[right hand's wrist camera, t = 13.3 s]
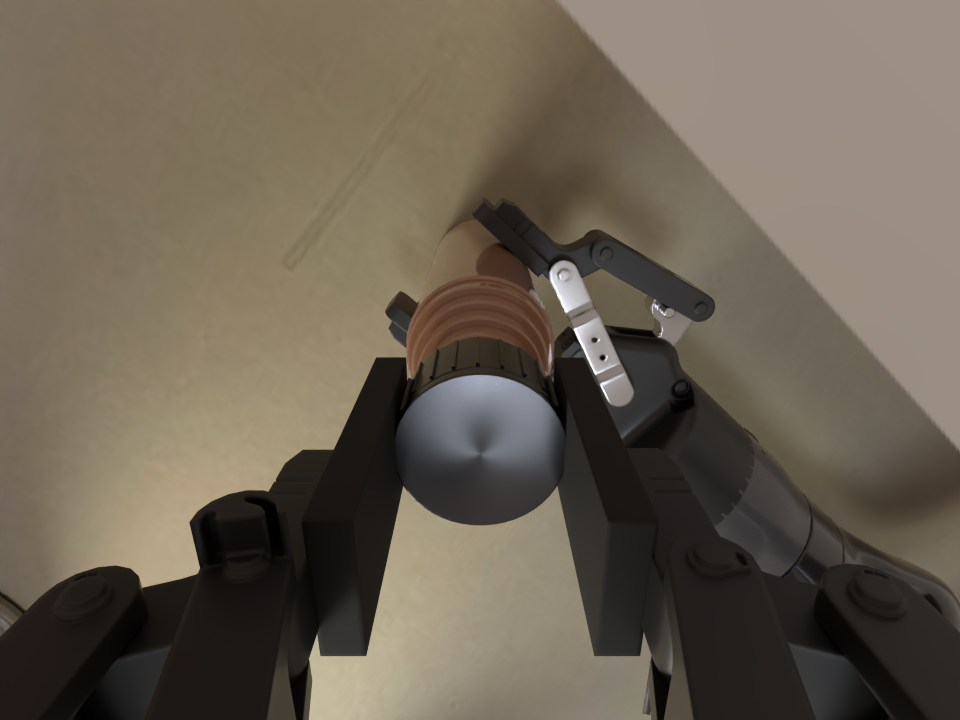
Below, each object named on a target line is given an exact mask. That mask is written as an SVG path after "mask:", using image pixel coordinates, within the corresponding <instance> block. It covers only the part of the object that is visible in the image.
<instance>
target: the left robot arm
mask: <svg viewBox="0 0 960 720" xmlns="http://www.w3.org/2000/svg"><path fill="white" fill-rule="evenodd" d="M472 214H473V216H474V217H475V218H476V219H477V220H478V221H479V222H480V223H481V224H482V225H483V226H484V227H485V228H486V229H487V230H488V231H489V232H490V233H492V234H493V235H494V236H495V237H496V238H497V239H498V240H499V241H500V242H501V243H502V244H503V245H504V246H505V247H507V248H508V249H509V250H510V251H511V252H512V253H513V254H514V255H515V256H516V257H517V258H519V259H520V260H521V261H522V262H523V263H524V264H525V265H526V266H527V267H528V268H529V269H530V270H531V271H532V272H533V273H534V274H535V275H537V276H538V277H539V276H540V275H541V274H543V275H544V276H545V277H546V278H548V279H549V280H550V282H551V284H552V286H553V288H554V290H555V292H556V294H557V296H558V298H559V300H560V303H561V305H562V307H563V309H564V311H565V313H566V315H567V317H568V319H569V321H570V323H571V325H572V329H571V328H570V327H569V326H568V327H567V328H566V329H565V330H564V331H563V332H562V333H561V334H560V335H559V336H558V337H557V338H556V340H555V342H554V355H553V365H552V370H551V373H550V376H551V378H552V382H553V379H554V360H555V357H577V358H585V360H586V362H587V365H588V367H589V369H590V371H591V373H592V375H593V378H594V380H595V382H596V384H597V386H598V389H599V391H600V393H601V395H602V397H603V399H604V402H605V404H606V406H607V408H608V410H609V412H610V415H611V417H612V419H613V421H614V423H615V425H616V428H617V430H618V432H619V434H620V436H621V438H622V441H623V443H624V445H625V447H626V448H658V449H660V450H661V451H662V452H664V453H665V454H666V455H668V456H669V457H670V458H672V459H673V460H674V461H676V463H677V465H678V466H679V468H680V470H681V471H682V473H683V475H684V476H685V480H687V482H688V483H689V485H690V487H691V488H692V492H693V493H695V495H696V497H697V498H698V500H699V502H700V503H701V505H702V507H703V509H704V510H705V512H706V514H707V515H708V517H709V519H710V520H711V522H712V524H713V525H714V527H715V529H716V530H717V532H718V534H719V536H720V537H723V538H725V539H728V540H730V541H732V542H734V543H736V544H738V545H740V546H741V547H742V548H743V549H745V550H746V551H747V552H748V553H750V554H751V555H752V556H753V558H754V559H755V561H756V562H757V564H758V565H759V567H760V569H761V571H763V572H765V573H769V574H772V575H775V576H779V577H782V578H787V579H791V580H796V581H800V582H805V583H809V584H813V585H818V586H819V585H820V582H821V578H822V575H823V573H824V572H825V571H826V570H828V569H829V568H830V567H831V566H835V565H840V564H845V563H846V564H857V565H865V566H868V567H871V568H875V569H878V570H881V571H884V572H886V573H888V574H890V575H892V576H894V577H896V578H898V579H900V580H902V581H904V582H906V583H907V584H908V585H910V586H911V587H912V588H913V589H915V590H916V591H917V592H919V593H920V594H921V595H922V596H923V597H924V598H925V599H926V600H927V601H928V602H929V603H930V604H932V605H933V606H934V607H935V608H936V609H937V610H938V611H939V612H940V613H941V614H942V615H943V616H944V617H945V618H946V619H947V620H948V621H949V622H950V623H951V624H952V625H953V626H954V627H955V628H956V629H957V630H958V631H959V632H960V603H959V601H958V599H957V598H956V596H955V594H954V593H953V591H952V590H951V589H950V588H949V587H948V586H947V584H946V583H944V582H943V581H942V580H941V579H940V578H938V577H937V576H935V575H934V574H932V573H930V572H928V571H927V570H925V569H923V568H921V567H919V566H917V565H915V564H913V563H910V562H908V561H905V560H903V559H901V558H898V557H896V556H893V555H891V554H888V553H886V552H884V551H881V550H879V549H877V548H875V547H873V546H872V545H870V544H868V543H866V542H864V541H863V540H861V539H859V538H857V537H856V536H854V535H852V534H850V533H849V532H847V531H846V530H844V529H842V528H841V527H839V526H838V525H836V524H835V523H834V522H833V521H832V520H831V519H830V518H829V517H828V516H827V515H826V514H825V513H824V512H823V511H822V510H821V509H820V508H819V507H817V506H816V505H815V504H814V503H813V502H812V501H811V500H810V499H809V498H808V497H807V496H806V495H805V494H804V493H803V492H802V491H801V490H800V489H799V488H798V487H797V486H796V485H795V484H794V482H793V481H792V480H791V478H790V477H789V476H788V474H787V473H786V471H785V470H784V469H783V468H782V466H781V465H780V464H779V463H778V462H777V460H776V459H775V458H774V457H773V456H772V455H771V454H770V453H769V452H768V451H767V450H766V449H765V448H763V447H762V446H761V445H760V444H759V441H758V440H757V439H756V437H755V436H754V435H753V434H752V433H750V432H749V431H748V430H746V429H745V428H743V427H742V426H740V425H739V424H738V423H737V422H736V421H735V420H734V419H733V418H732V417H731V416H730V415H729V414H728V413H727V412H726V411H725V410H724V409H723V408H722V407H721V406H720V405H719V404H718V403H717V402H716V401H715V400H713V399H712V398H711V397H710V396H709V395H708V394H707V393H706V392H705V391H704V390H703V389H702V388H701V387H700V386H699V385H698V384H697V383H696V382H695V381H694V380H693V379H692V378H691V377H690V376H689V375H687V374H686V373H685V372H684V371H683V370H682V368H681V366H680V363H679V359H678V354H677V351H676V349H675V348H674V347H675V345H676V344H677V343H678V341H679V340H680V338H681V337H682V336H683V334H684V333H685V332H686V330H687V329H688V327H689V326H690V325H691V323H692V322H693V321H696V322H701V321H705V320H707V319H708V318H709V317H710V316H711V315H712V314H713V312H714V310H715V303H714V300H713V299H712V298H711V297H710V296H708V295H707V294H706V293H704V292H703V291H701V290H700V289H699V288H697V287H696V286H694V285H693V284H692V283H690V282H689V281H687V280H685V279H683V278H682V277H680V276H678V275H677V274H675V273H673V272H671V271H670V270H668V269H666V268H665V267H663V266H661V265H660V264H658V263H656V262H654V261H653V260H651V259H649V258H648V257H646V256H644V255H642V254H641V253H639V252H637V251H636V250H634V249H632V248H630V247H629V246H627V245H625V244H624V243H622V242H620V241H619V240H617V239H615V238H613V237H612V236H610V235H608V234H607V233H605V232H603V231H601V230H591V231H589V232H588V233H586V234H585V236H584V237H583V238H581V239H579V240H577V241H575V242H573V243H571V244H567V245H561V244H557V243H555V242H554V241H552V240H551V239H550V238H549V237H548V236H547V235H546V234H545V233H544V232H543V231H542V230H541V229H540V228H539V227H538V226H537V225H536V224H535V223H534V222H533V221H532V220H531V219H530V218H529V217H527V216H526V215H525V214H524V213H523V212H522V211H521V210H520V209H519V208H518V207H517V206H516V205H515V204H514V203H512V202H510V201H507V200H505V199H502V198H501V200H500V201H499V202H498V203H497V204H496V205H495V206H493V205H492V204H491V203H490V202H488V201H487V200H486V199H485V198H483V199H482V200H481V201H480V202H479V203H478V204H477V205H476V206H475V208H474V209H473V210H472ZM601 268H602V269H603V270H605V271H607V272H609V273H610V274H612V275H614V276H616V277H617V278H619V279H621V280H623V281H624V282H626V283H628V284H630V285H631V286H633V287H635V288H637V289H638V290H640V291H642V292H644V293H645V294H647V295H648V296H647V298H646V301H645V307H646V309H647V311H648V312H649V313H650V314H651V315H652V316H653V317H654V319H655V327H654V329H653V331H652V330H643V329H634V328H625V327H616V326H607V325H603V322H602V320H601V318H600V316H599V314H598V312H597V310H596V308H595V306H594V304H593V302H592V300H591V298H590V296H589V293H588V291H587V289H586V287H585V285H584V282H583V280H582V278H583V277H585V276H587V275H589V274H591V273H593V272H595V271H597V270H599V269H601ZM416 305H417V303H416V302H415V301H414V300H413V299H412V298H410V297H409V296H408V295H407V294H405V293H403V292H399V293H398V294H397V295H396V296H395V297H394V298H393V300H392V301H391V302H390V303H389V305H388V307H387V309H386V310H385V312H386V315H387V316H388V317H389V318H390V319H391V320H392V322H391V324H390V326H389V330H390V331H391V333H392V335H393V337H394V338H395V339H396V340H397V341H398V342H399V343H401V344H402V345H403V346H405V347H406V340H407V332H408V328H409V324H410V322H411V319H412V316H413V313H414V311H415V308H416Z"/></svg>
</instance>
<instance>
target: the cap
mask: <svg viewBox="0 0 960 720" xmlns="http://www.w3.org/2000/svg"><path fill="white" fill-rule="evenodd" d="M559 407H560V406H559V402H558V399H557V395H556V392H555V388H554V385H553V382H552V378H551V376H550V374H549V375H547V373H546V371H545V370H544V369H543V368H542V366H541V365H540V362H539V360H538V359H534V358H533V357H532V356H531V355H529V354H528V353H527V352H526V351H524V350H523V349H522V347H520V346H519V347H517V346H514V345H512V344H510V343H507V342H504V341H502V339H498V340H495V339H488V338H480V337H476V338H473V339H464V340H461V341H458V340H455V341H454V343H451V344H448V345H446V346H444V347H442V348H440V349H438V348H437V349H435V350H434V353H432V354H431V355H430V356H429V357H427V358H426V359H425V360H424V361H423V362H421V361H420V362H419V364H418V368H417V369H416V371H415V373H414V374H413V376H412V378H409V379H408V381H407V384H406V388H405V391H404V395H403V398H402V402H401V405H400V408H399V411H400V415H399V419H398V423H397V426H396V430H395V448H396V463H397V474H398V476H399V478H400V480H401V482H402V484H403V486H404V487H405V489H406V490H407V491H408V493H409V494H410V495H411V496H412V497H413V498H414V499H415V500H416V501H417V502H418V503H419V504H420V505H421V506H423V507H424V508H425V509H427V510H429V511H430V512H432V513H433V514H435V515H437V516H440V517H442V518H444V519H447V520H450V521H453V522H457V523H461V524H468V525H493V524H499V523H504V522H507V521H511V520H514V519H516V518H519V517H521V516H523V515H525V514H527V513H529V512H530V511H532V510H534V509H535V508H536V507H538V506H539V505H540V504H542V503H543V502H544V501H545V500H546V499H547V498H548V497H549V496H550V495H551V493H552V492H553V491H554V490H555V488H556V487H557V485H558V483H559V481H560V480H561V478H562V475H563V472H564V458H565V442H566V431H565V427H564V424H563V420H562V417H561V413H560V410H559Z"/></svg>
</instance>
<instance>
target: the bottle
mask: <svg viewBox="0 0 960 720" xmlns="http://www.w3.org/2000/svg"><path fill="white" fill-rule="evenodd" d="M476 337H480V338H488V339H495V340H498V339H502V341H504V342H507V343H510V344H512V345H514V346H517V347H519V346H520V347H522V349H523V350H524V351H526V352H527V353H528V354H529V355H531V356H532V357H533V358H534V359H538V360H539V362H540V365H541V366H542V368H543V369H544V370H545V371H546V373H547V375H549V374H550V373H551V370H552V365H553V355H554V336H553V331H552V326H551V324H550V321H549V318H548V315H547V313H546V310H545V307H544V305H543V302H542V299H541V297H540V294H539V291H538V288H537V286H536V283H535V280H534V278H533V275H532V272H531V270H530V269H529V268H528V267H527V266H526V265H525V264H524V263H523V262H522V261H521V260H520V259H519V258H517V257H516V256H515V255H514V254H513V253H512V252H511V251H510V250H509V249H508V248H507V247H505V246H504V245H503V244H502V243H501V242H500V241H499V240H498V239H497V238H496V237H495V236H494V235H493V234H492V233H490V232H489V231H488V230H487V229H486V228H485V227H484V226H483V225H482V224H481V223H480V222H479V221H478V220H477V219H474V220H469V221H465V222H463V223H460V224H458V225H457V226H455V227H454V228H452V229H451V230H450V231H449V232H448V233H447V234H446V235H445V236H444V237H443V239H442V240H441V242H440V244H439V246H438V249H437V251H436V254H435V257H434V259H433V262H432V265H431V267H430V270H429V273H428V276H427V278H426V281H425V284H424V286H423V289H422V292H421V295H420V297H419V300H418V303H417V305H416V308H415V311H414V313H413V316H412V319H411V322H410V324H409V328H408V332H407V340H406V351H407V362H408V368H409V372H410V375H411V378H412V376H413V374H414V373H415V371H416V369H417V368H418V364H419V362H420V361H421V362H423V361H424V360H425V359H426V358H427V357H429V356H430V355H431V354H432V353H434V350H435V349H437V348H438V349H440V348H442V347H444V346H446V345H448V344H451V343H454V341H455V340H458V341H461V340H464V339H473V338H476Z"/></svg>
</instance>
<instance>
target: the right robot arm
mask: <svg viewBox="0 0 960 720" xmlns="http://www.w3.org/2000/svg"><path fill="white" fill-rule="evenodd" d="M406 384H407V367H406V358H376V359H375V362H374V364H373V366H372V368H371V370H370V373H369V375H368V377H367V379H366V381H365V383H364V386H363V388H362V390H361V392H360V394H359V396H358V399H357V401H356V403H355V405H354V407H353V410H352V412H351V414H350V416H349V418H348V420H347V423H346V425H345V427H344V429H343V431H342V433H341V436H340V438H339V440H338V442H337V444H336V446H335V449H334V450H302V451H301V452H300V453H298V454H297V455H296V456H294V457H293V458H292V459H290V460H289V461H288V462H286V463H285V465H284V466H283V468H282V470H281V471H280V473H279V475H278V477H277V478H276V482H274V483H273V485H272V487H271V488H270V490H269V492H267V491H256V490H247V491H242V492H237V493H232V494H228V495H226V496H223V497H221V498H219V499H216V500H214V501H212V502H210V503H209V504H207V505H206V506H205V507H203V508H202V509H200V510H199V511H198V512H197V513H196V514H195V516H194V517H193V518H192V520H191V521H190V527H191V531H192V535H193V539H194V544H195V548H196V552H197V556H198V561H199V565H200V570H199V573H198V574H196V575H193V576H190V577H186V578H183V579H179V580H175V581H171V582H166V583H162V584H157V585H153V586H149V587H144V588H142V586H141V582H140V579H139V576H138V575H137V574H136V573H135V572H134V571H133V570H131V569H130V568H125V567H120V566H107V567H97V568H94V569H91V570H88V571H84V572H81V573H78V574H76V575H74V576H72V577H70V578H68V579H66V580H64V581H62V582H60V583H58V584H56V585H55V586H54V587H53V588H51V589H50V590H49V591H47V592H46V593H45V594H44V595H42V596H41V597H40V598H39V599H38V600H37V601H36V602H35V603H34V604H33V605H32V606H31V607H30V608H29V609H28V610H27V611H26V612H25V613H24V614H23V613H22V612H21V611H20V610H18V609H17V608H16V607H15V606H14V605H12V604H11V603H10V602H8V601H7V600H5V599H4V598H2V597H1V596H0V720H309V710H310V699H311V688H312V676H311V669H310V663H309V657H310V654H311V651H312V648H313V644H314V641H315V638H316V635H318V642H319V649H320V655H321V656H366V654H367V650H368V645H369V641H370V636H371V631H372V627H373V622H374V618H375V613H376V608H377V604H378V599H379V595H380V590H381V585H382V581H383V576H384V572H385V567H386V562H387V558H388V553H389V548H390V544H391V539H392V535H393V530H394V525H395V521H396V516H397V512H398V507H399V502H400V498H401V493H402V489H403V484H402V482H401V480H400V478H399V476H398V474H397V463H396V448H395V430H396V426H397V423H398V419H399V415H400V411H399V408H400V405H401V402H402V398H403V395H404V391H405V388H406ZM553 385H554V388H555V392H556V395H557V399H558V402H559V406H560V407H559V410H560V413H561V417H562V420H563V424H564V427H565V431H566V442H565V458H564V472H563V475H562V478H561V480H560V481H559V483H558V485H557V486H558V490H559V495H560V500H561V504H562V509H563V513H564V518H565V523H566V527H567V532H568V536H569V541H570V546H571V550H572V555H573V559H574V564H575V569H576V573H577V578H578V582H579V587H580V592H581V596H582V601H583V606H584V610H585V615H586V619H587V624H588V629H589V633H590V638H591V642H592V647H593V652H594V656H640V653H641V646H642V639H643V632H644V634H645V637H646V640H647V643H648V646H649V649H650V652H651V655H652V656H651V662H650V669H649V675H648V682H647V688H646V695H645V701H644V708H643V714H648V715H650V711H651V720H960V632H959V631H958V630H957V629H956V628H955V627H954V626H953V625H952V624H951V623H950V622H949V621H948V620H947V619H946V618H945V617H944V616H943V615H942V614H941V613H940V612H939V611H938V610H937V609H936V608H935V607H934V606H933V605H932V604H930V603H929V602H928V601H927V600H926V599H925V598H924V597H923V596H922V595H921V594H920V593H919V592H917V591H916V590H915V589H913V588H912V587H911V586H910V585H908V584H907V583H906V582H904V581H902V580H900V579H898V578H896V577H894V576H892V575H890V574H888V573H886V572H884V571H881V570H878V569H875V568H871V567H868V566H865V565H857V564H846V563H845V564H840V565H835V566H831V567H830V568H829V569H828V570H826V571H825V572H824V573H823V575H822V578H821V582H820V585H819V586H818V585H813V584H809V583H805V582H800V581H796V580H791V579H787V578H782V577H779V576H775V575H772V574H769V573H765V572H763V571H761V569H760V567H759V565H758V564H757V562H756V561H755V559H754V558H753V556H752V555H751V554H750V553H748V552H747V551H746V550H745V549H743V548H742V547H741V546H740V545H738V544H736V543H734V542H732V541H730V540H728V539H725V538H723V537H720V536H719V534H718V532H717V530H716V529H715V527H714V525H713V524H712V522H711V520H710V519H709V517H708V515H707V514H706V512H705V510H704V509H703V507H702V505H701V503H700V502H699V500H698V498H697V497H696V495H695V493H693V492H692V488H691V487H690V485H689V483H688V482H687V480H685V476H684V475H683V473H682V471H681V470H680V468H679V466H678V465H677V463H676V461H674V460H673V459H672V458H670V457H669V456H668V455H666V454H665V453H664V452H662V451H661V450H660V449H658V448H626V447H625V445H624V443H623V441H622V438H621V436H620V434H619V432H618V430H617V428H616V425H615V423H614V421H613V419H612V417H611V415H610V412H609V410H608V408H607V406H606V404H605V402H604V399H603V397H602V395H601V393H600V391H599V389H598V386H597V384H596V382H595V380H594V378H593V375H592V373H591V371H590V369H589V367H588V365H587V362H586V360H585V358H577V357H555V360H554V379H553Z"/></svg>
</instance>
